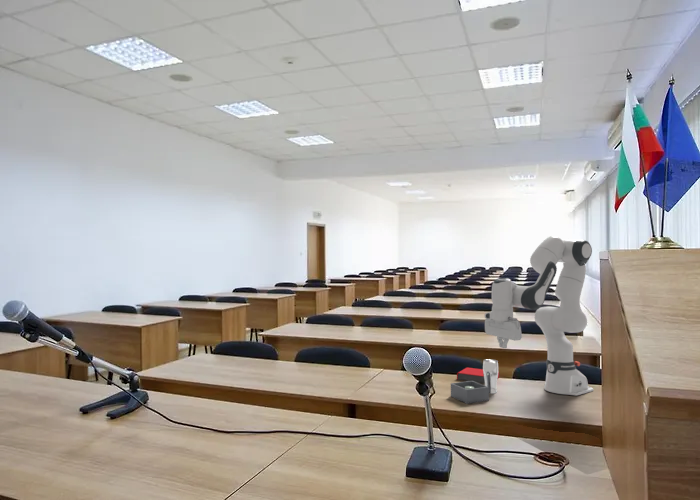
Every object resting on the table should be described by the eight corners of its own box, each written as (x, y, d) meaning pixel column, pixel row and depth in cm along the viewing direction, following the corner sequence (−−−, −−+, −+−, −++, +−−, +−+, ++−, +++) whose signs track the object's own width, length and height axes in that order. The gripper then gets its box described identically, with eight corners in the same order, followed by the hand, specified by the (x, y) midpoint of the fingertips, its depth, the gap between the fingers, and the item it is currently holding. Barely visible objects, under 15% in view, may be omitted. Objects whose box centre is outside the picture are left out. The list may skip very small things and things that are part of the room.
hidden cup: (470, 395, 218) (470, 385, 219) (475, 397, 215) (475, 387, 215) (463, 396, 217) (463, 386, 217) (468, 398, 213) (468, 388, 213)
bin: (472, 393, 224) (472, 380, 224) (488, 400, 213) (488, 387, 213) (450, 396, 219) (450, 383, 219) (466, 403, 208) (466, 389, 208)
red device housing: (499, 381, 248) (499, 371, 248) (491, 387, 236) (491, 377, 236) (465, 376, 258) (465, 367, 258) (456, 382, 245) (456, 372, 246)
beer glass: (499, 395, 221) (498, 362, 221) (483, 394, 222) (483, 362, 223) (497, 391, 228) (497, 359, 228) (482, 390, 229) (482, 359, 230)
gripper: (525, 318, 199) (525, 351, 199) (493, 313, 218) (494, 343, 218) (512, 319, 197) (513, 352, 197) (482, 313, 216) (482, 344, 216)
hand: (503, 347), depth 208 cm, fingers closed
